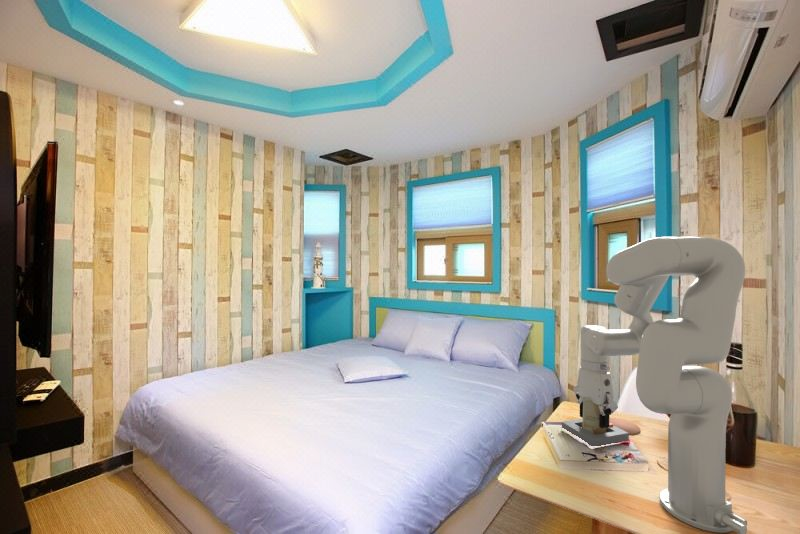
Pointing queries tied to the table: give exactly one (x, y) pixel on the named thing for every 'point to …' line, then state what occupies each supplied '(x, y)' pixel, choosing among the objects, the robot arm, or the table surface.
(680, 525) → the table surface
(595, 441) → the gray square frame
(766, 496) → the table surface
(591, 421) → the skincare box
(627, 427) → the coaster
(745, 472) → the table surface
